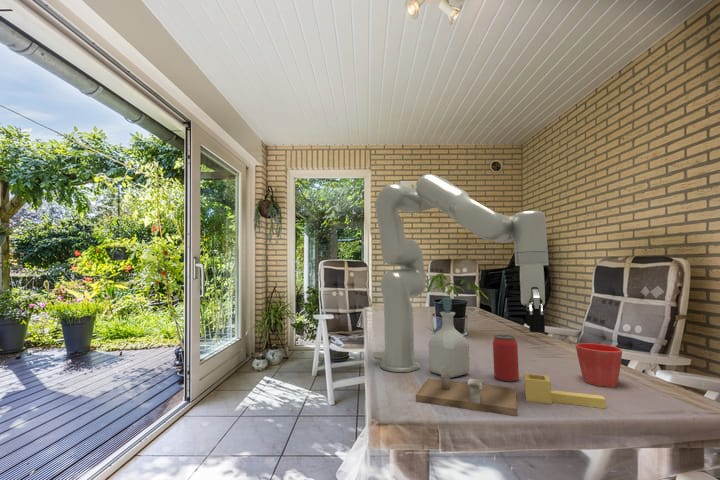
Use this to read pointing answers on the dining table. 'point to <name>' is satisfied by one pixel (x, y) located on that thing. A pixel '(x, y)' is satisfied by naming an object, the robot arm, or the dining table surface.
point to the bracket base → (468, 394)
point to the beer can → (505, 358)
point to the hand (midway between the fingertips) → (535, 328)
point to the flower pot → (599, 363)
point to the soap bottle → (448, 346)
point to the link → (557, 393)
